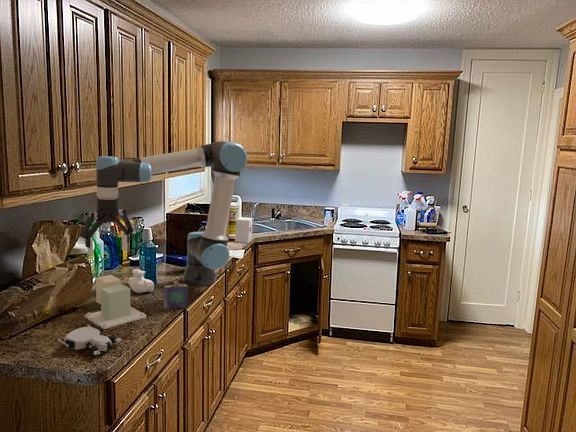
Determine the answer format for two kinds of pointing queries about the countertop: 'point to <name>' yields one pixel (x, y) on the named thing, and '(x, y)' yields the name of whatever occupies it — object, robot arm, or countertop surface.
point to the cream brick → (105, 284)
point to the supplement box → (243, 230)
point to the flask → (175, 296)
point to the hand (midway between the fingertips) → (107, 253)
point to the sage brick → (115, 302)
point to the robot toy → (89, 340)
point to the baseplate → (107, 323)
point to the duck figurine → (140, 282)
